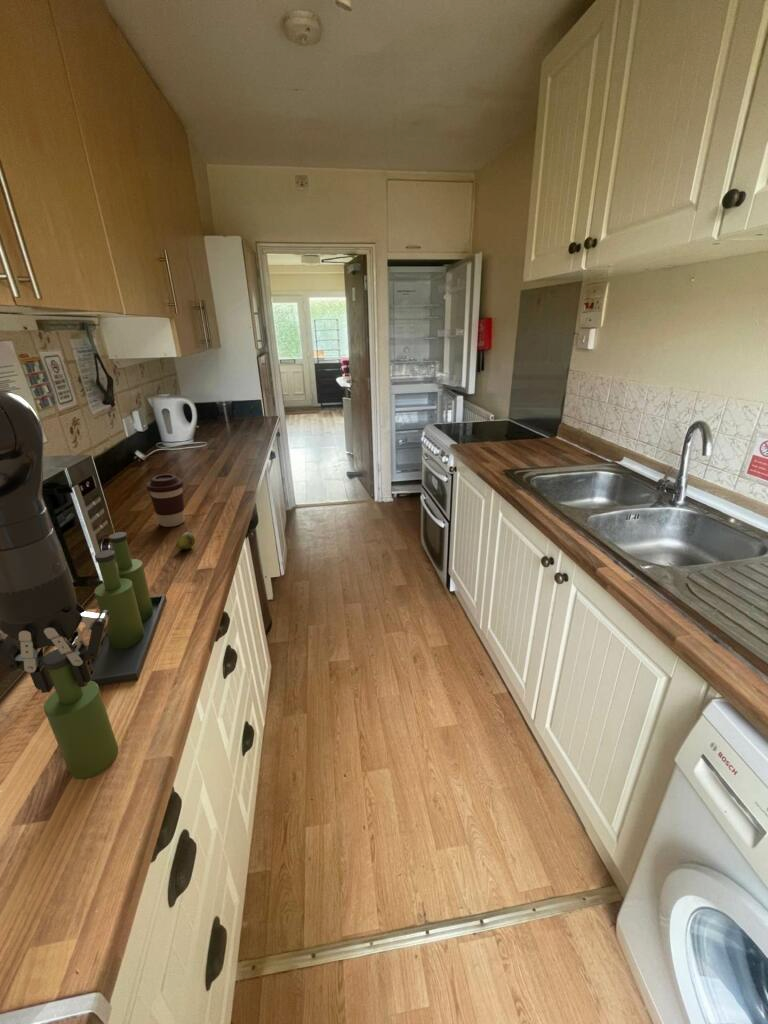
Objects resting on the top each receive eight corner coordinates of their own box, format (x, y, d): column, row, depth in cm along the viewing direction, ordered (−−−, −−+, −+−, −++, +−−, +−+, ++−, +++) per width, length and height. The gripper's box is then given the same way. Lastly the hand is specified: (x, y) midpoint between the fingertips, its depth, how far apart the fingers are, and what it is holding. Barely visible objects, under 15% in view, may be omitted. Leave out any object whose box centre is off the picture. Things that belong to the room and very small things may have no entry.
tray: (138, 682, 75) (136, 673, 74) (76, 692, 72) (73, 682, 71) (167, 602, 96) (165, 594, 95) (119, 608, 94) (117, 600, 93)
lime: (177, 553, 116) (174, 537, 114) (181, 545, 121) (178, 529, 119) (194, 552, 117) (191, 536, 115) (198, 544, 122) (195, 528, 120)
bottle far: (115, 618, 89) (92, 538, 82) (141, 603, 94) (121, 526, 87) (134, 627, 87) (112, 545, 79) (159, 611, 92) (141, 532, 84)
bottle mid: (102, 643, 83) (76, 557, 75) (131, 625, 88) (109, 543, 80) (123, 652, 80) (98, 565, 73) (151, 634, 85) (131, 550, 78)
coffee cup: (173, 531, 129) (164, 484, 123) (147, 526, 131) (137, 480, 125) (196, 518, 137) (189, 474, 131) (171, 514, 140) (163, 470, 134)
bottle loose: (59, 767, 60) (16, 663, 52) (101, 734, 65) (67, 634, 57) (86, 786, 58) (44, 679, 50) (127, 750, 63) (95, 648, 55)
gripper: (106, 550, 54) (135, 656, 61) (-28, 562, 51) (19, 673, 57) (84, 582, 47) (119, 697, 54) (-72, 598, 44) (-14, 719, 51)
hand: (67, 684), depth 56 cm, fingers open, 3 cm apart
